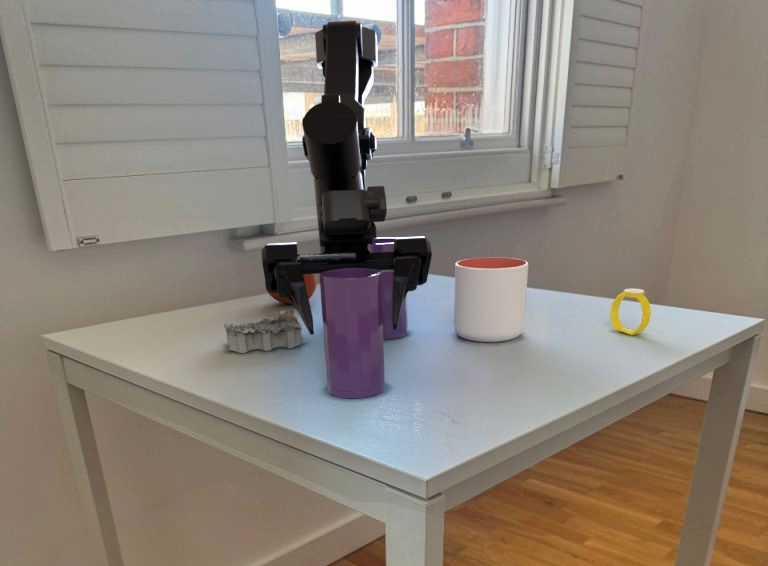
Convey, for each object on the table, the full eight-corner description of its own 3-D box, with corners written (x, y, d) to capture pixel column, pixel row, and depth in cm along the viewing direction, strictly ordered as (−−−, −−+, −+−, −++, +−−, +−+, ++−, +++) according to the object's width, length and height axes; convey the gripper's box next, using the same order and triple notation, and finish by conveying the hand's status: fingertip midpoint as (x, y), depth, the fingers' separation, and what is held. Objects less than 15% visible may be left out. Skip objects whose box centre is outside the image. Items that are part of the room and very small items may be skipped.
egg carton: (299, 336, 104) (296, 308, 102) (304, 348, 98) (302, 319, 96) (226, 341, 102) (222, 313, 100) (227, 355, 96) (223, 324, 94)
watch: (604, 330, 101) (609, 288, 99) (617, 327, 103) (623, 285, 100) (637, 338, 97) (644, 294, 94) (651, 335, 98) (657, 292, 95)
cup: (522, 345, 96) (527, 269, 91) (449, 343, 98) (451, 268, 93) (524, 327, 104) (529, 257, 100) (457, 326, 106) (459, 257, 101)
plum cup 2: (353, 336, 103) (349, 242, 97) (378, 326, 108) (375, 236, 101) (391, 341, 99) (389, 245, 93) (415, 331, 104) (414, 238, 98)
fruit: (290, 296, 130) (286, 250, 126) (327, 300, 126) (323, 253, 122) (256, 305, 124) (251, 258, 120) (293, 310, 119) (289, 261, 116)
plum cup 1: (316, 390, 81) (307, 274, 75) (356, 377, 85) (350, 265, 79) (356, 402, 77) (349, 280, 71) (396, 387, 81) (393, 271, 75)
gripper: (252, 162, 73) (260, 291, 68) (429, 155, 74) (448, 281, 70) (263, 233, 83) (271, 349, 79) (417, 226, 85) (433, 339, 81)
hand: (353, 330), depth 77 cm, fingers open, 9 cm apart
